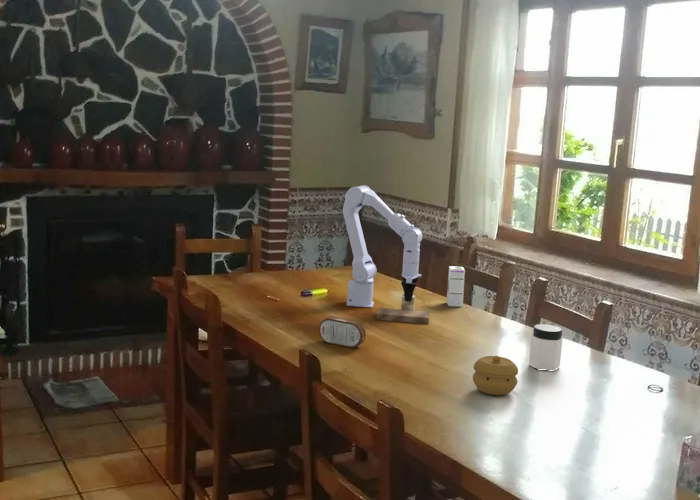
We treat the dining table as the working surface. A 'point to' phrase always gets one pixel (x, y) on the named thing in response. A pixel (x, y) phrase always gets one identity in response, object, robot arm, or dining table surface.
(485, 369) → the pot
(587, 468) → the dining table surface
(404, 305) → the oak block
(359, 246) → the robot arm
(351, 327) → the tin
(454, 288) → the syrup box
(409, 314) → the walnut slab
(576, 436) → the dining table surface
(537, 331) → the jar
